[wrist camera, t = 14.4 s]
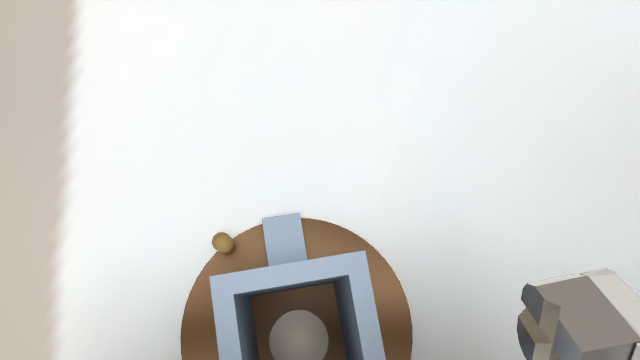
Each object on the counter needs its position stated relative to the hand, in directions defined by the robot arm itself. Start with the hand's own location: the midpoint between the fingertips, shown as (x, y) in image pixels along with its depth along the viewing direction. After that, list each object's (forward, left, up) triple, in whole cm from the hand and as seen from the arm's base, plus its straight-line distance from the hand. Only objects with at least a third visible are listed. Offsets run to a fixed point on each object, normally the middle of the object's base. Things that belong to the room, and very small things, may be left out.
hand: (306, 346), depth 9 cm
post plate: (+1, 0, -19) cm, 19 cm away
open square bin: (-1, 0, -18) cm, 18 cm away
